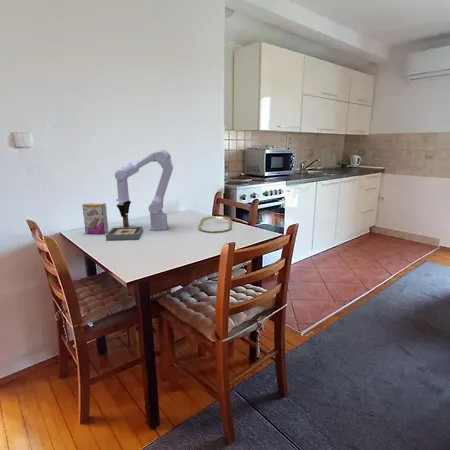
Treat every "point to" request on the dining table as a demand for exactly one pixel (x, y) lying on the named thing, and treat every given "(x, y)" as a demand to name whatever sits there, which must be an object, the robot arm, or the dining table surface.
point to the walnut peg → (125, 221)
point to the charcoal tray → (112, 236)
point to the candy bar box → (95, 218)
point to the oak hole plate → (126, 231)
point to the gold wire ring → (214, 218)
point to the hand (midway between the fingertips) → (125, 215)
